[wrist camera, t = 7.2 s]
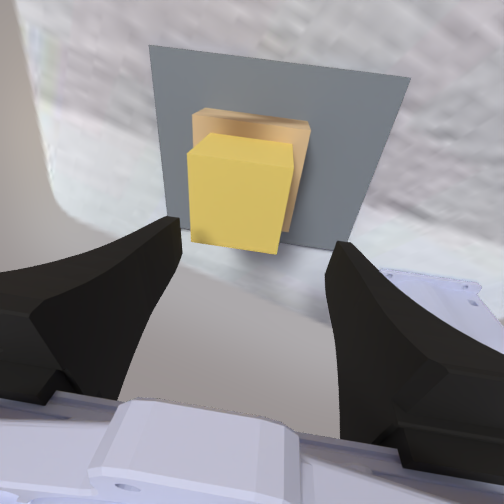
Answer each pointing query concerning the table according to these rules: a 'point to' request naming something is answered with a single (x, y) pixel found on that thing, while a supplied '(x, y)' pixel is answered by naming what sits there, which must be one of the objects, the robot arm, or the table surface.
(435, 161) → the table surface
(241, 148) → the yellow block
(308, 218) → the board
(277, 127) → the oak block
